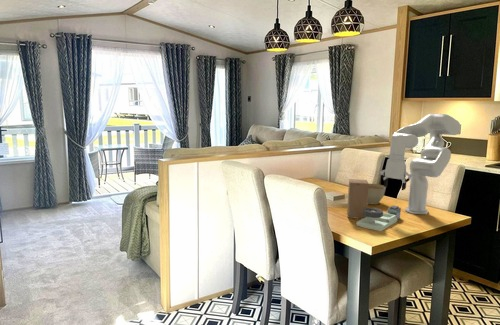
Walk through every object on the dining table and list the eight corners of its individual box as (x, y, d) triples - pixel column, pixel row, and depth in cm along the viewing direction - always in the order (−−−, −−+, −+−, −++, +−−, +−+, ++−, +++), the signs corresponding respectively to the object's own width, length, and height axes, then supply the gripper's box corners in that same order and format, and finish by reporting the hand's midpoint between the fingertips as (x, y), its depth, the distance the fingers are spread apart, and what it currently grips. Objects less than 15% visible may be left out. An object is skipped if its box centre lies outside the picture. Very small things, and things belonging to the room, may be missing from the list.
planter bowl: (352, 201, 247) (353, 185, 245) (368, 198, 257) (369, 182, 255) (374, 207, 234) (375, 190, 233) (389, 203, 244) (391, 187, 242)
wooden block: (366, 219, 212) (368, 183, 208) (347, 217, 213) (349, 182, 210) (364, 213, 221) (367, 179, 218) (347, 212, 223) (349, 178, 220)
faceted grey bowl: (368, 211, 205) (368, 207, 204) (384, 215, 199) (385, 210, 198) (360, 215, 198) (361, 210, 197) (377, 218, 192) (378, 214, 192)
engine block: (391, 216, 217) (391, 204, 216) (399, 218, 214) (400, 206, 213) (386, 218, 213) (387, 206, 212) (395, 220, 210) (396, 208, 208)
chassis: (374, 216, 217) (374, 202, 215) (397, 221, 208) (398, 207, 207) (356, 225, 200) (357, 210, 199) (380, 231, 192) (382, 215, 190)
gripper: (378, 156, 211) (376, 186, 214) (410, 160, 200) (408, 192, 202) (384, 155, 216) (381, 184, 219) (415, 158, 205) (412, 189, 208)
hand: (394, 188), depth 211 cm, fingers open, 9 cm apart
